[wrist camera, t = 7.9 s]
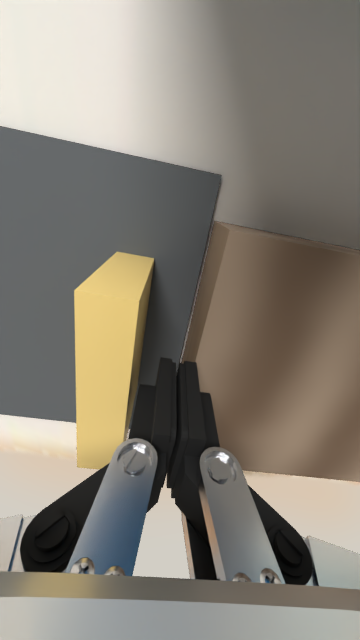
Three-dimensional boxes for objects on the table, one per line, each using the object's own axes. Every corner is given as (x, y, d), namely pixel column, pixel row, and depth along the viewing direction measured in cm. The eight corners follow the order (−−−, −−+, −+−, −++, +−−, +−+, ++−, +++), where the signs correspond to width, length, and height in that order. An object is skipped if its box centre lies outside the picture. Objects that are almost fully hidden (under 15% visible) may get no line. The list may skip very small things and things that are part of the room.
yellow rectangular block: (139, 300, 8) (74, 290, 7) (119, 471, 12) (77, 467, 11) (154, 258, 13) (117, 251, 13) (137, 384, 17) (108, 381, 17)
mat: (220, 175, 11) (221, 175, 11) (163, 429, 19) (163, 432, 19) (-100, 104, 10) (-107, 102, 10) (-20, 408, 18) (-23, 411, 18)
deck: (538, 286, 14) (659, 315, 11) (400, 439, 20) (447, 490, 17) (214, 221, 12) (230, 229, 9) (169, 412, 19) (168, 462, 15)
